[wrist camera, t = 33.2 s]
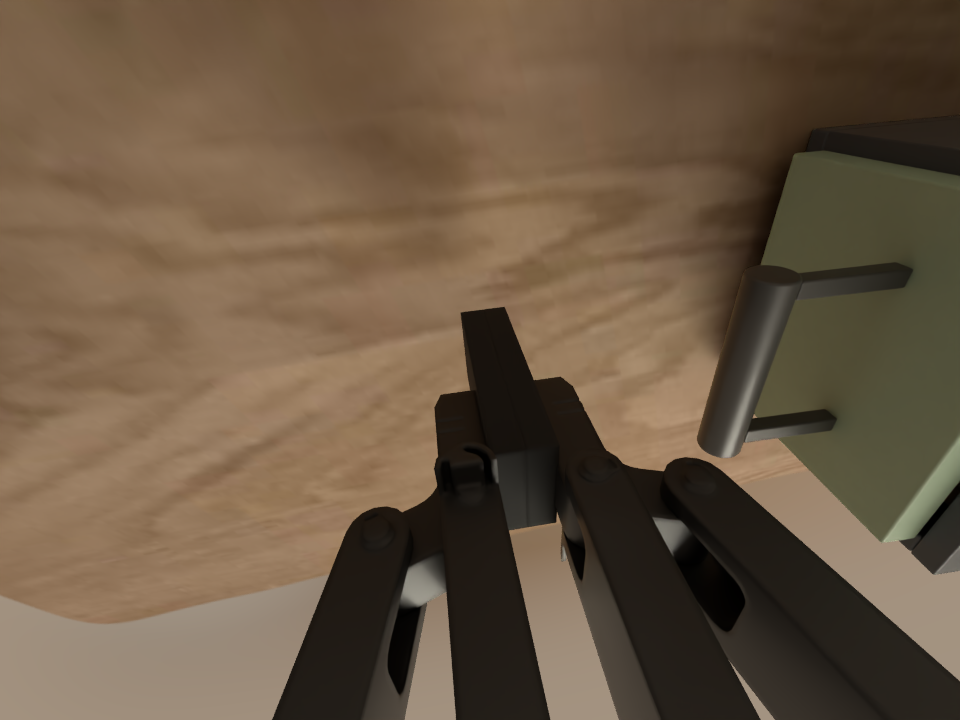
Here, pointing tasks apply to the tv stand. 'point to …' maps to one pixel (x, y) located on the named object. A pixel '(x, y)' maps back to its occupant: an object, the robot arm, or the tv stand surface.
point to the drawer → (852, 339)
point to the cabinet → (937, 147)
